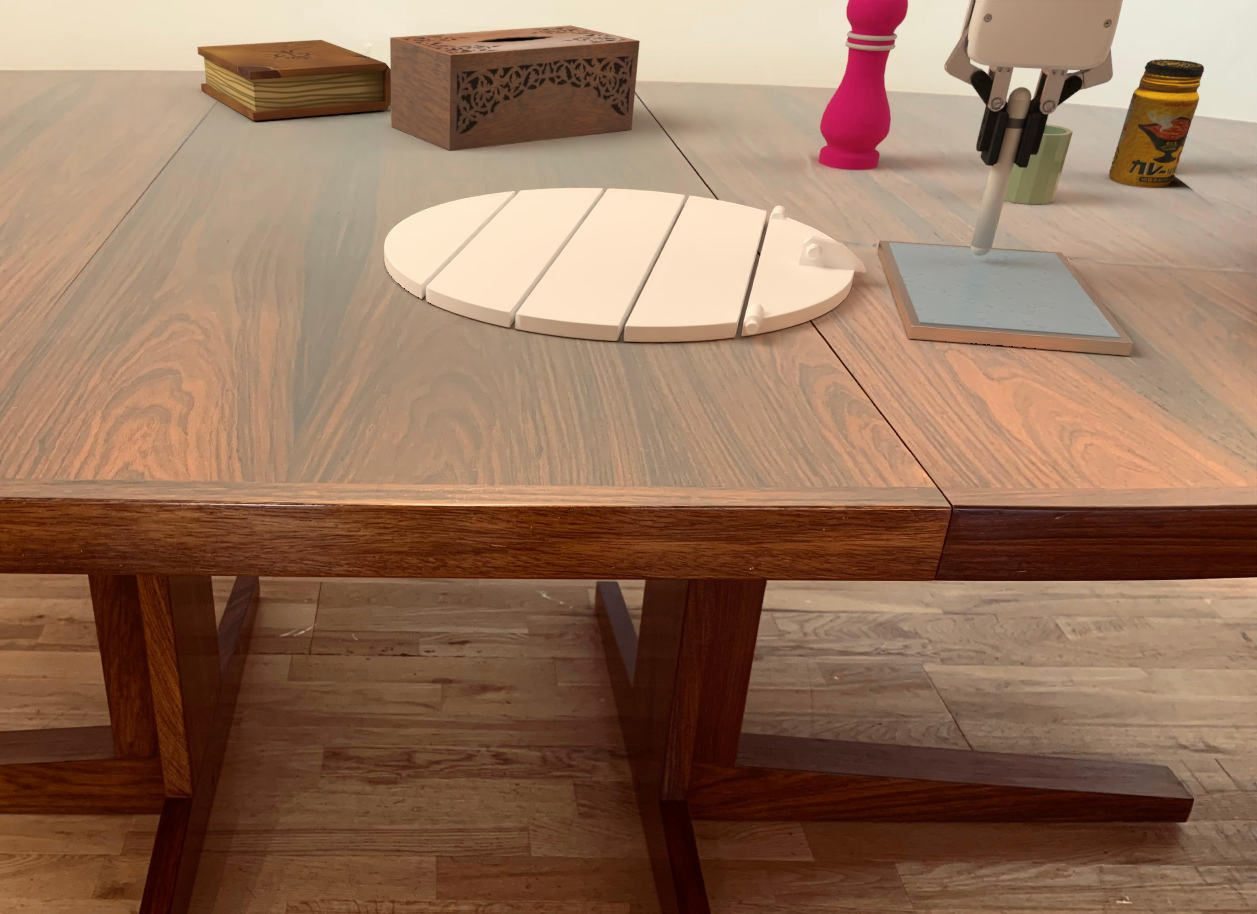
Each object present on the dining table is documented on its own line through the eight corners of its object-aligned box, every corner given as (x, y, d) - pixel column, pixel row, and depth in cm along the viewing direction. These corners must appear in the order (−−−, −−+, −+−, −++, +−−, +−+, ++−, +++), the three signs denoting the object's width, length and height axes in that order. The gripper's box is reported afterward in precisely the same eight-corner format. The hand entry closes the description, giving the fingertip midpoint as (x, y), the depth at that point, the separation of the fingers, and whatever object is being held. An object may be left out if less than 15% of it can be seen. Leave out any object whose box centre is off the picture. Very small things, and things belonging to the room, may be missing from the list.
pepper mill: (811, 171, 130) (846, -36, 119) (815, 157, 135) (849, -42, 125) (880, 177, 128) (923, -33, 117) (882, 163, 133) (922, -39, 123)
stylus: (987, 253, 99) (1031, 86, 92) (991, 259, 98) (1036, 89, 91) (966, 251, 100) (1009, 84, 93) (970, 257, 98) (1013, 88, 91)
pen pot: (1044, 196, 122) (1064, 124, 118) (1057, 211, 117) (1078, 136, 113) (986, 193, 123) (1004, 121, 119) (996, 207, 118) (1016, 133, 114)
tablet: (1058, 263, 103) (1062, 251, 102) (1129, 356, 84) (1134, 342, 84) (877, 251, 105) (879, 239, 104) (908, 339, 87) (911, 324, 86)
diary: (392, 110, 155) (391, 62, 152) (253, 122, 148) (250, 72, 145) (328, 81, 172) (326, 37, 169) (201, 90, 165) (197, 45, 162)
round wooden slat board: (863, 221, 113) (870, 184, 111) (862, 371, 81) (872, 322, 79) (457, 186, 122) (457, 151, 121) (314, 307, 91) (312, 263, 89)
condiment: (1158, 197, 122) (1199, 70, 116) (1074, 181, 127) (1109, 59, 121) (1184, 185, 126) (1225, 63, 120) (1103, 171, 132) (1138, 52, 125)
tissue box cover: (449, 150, 136) (450, 55, 131) (391, 126, 147) (390, 37, 141) (631, 129, 147) (639, 40, 142) (565, 108, 157) (570, 25, 152)
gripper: (1175, -105, 87) (1096, 158, 97) (949, -111, 89) (894, 146, 99) (1210, -100, 81) (1121, 181, 91) (965, -107, 83) (905, 167, 93)
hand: (1003, 161), depth 95 cm, fingers closed on stylus, 1 cm apart
